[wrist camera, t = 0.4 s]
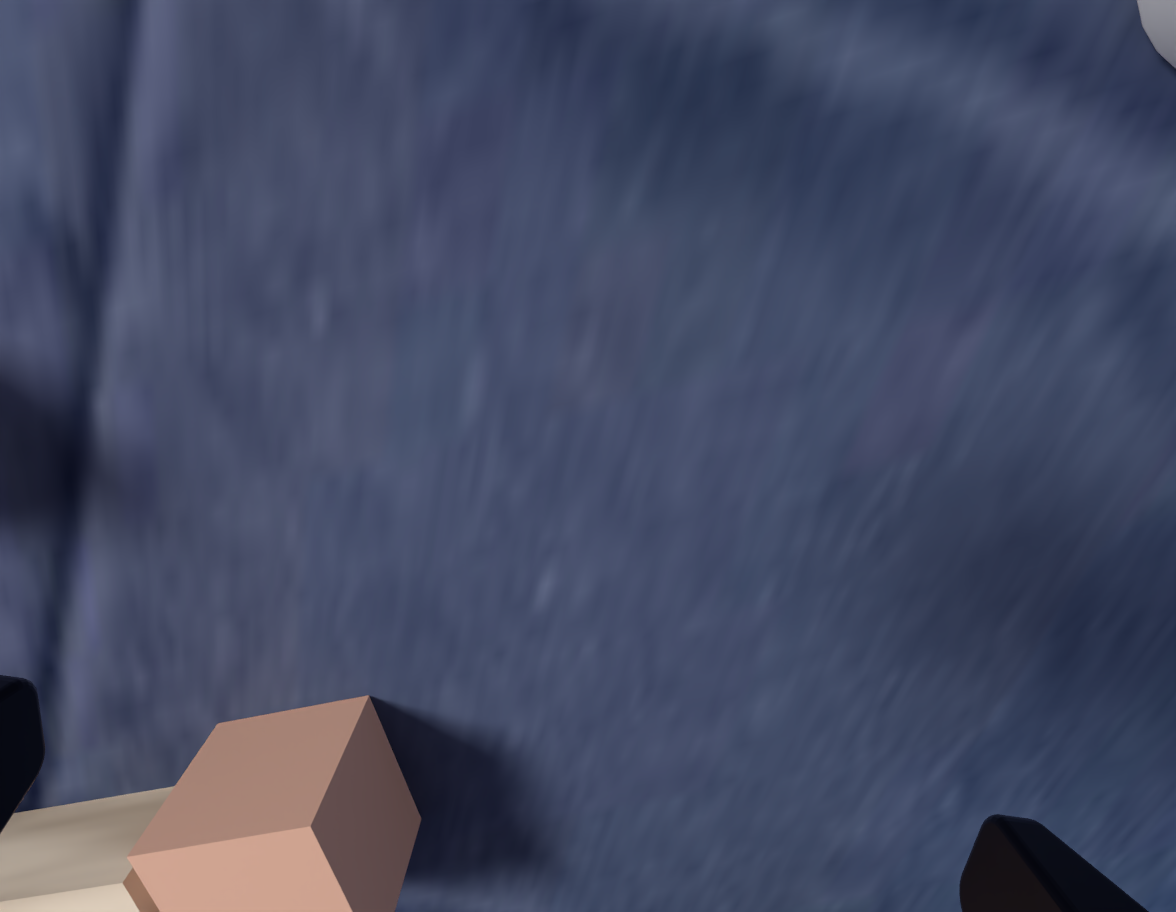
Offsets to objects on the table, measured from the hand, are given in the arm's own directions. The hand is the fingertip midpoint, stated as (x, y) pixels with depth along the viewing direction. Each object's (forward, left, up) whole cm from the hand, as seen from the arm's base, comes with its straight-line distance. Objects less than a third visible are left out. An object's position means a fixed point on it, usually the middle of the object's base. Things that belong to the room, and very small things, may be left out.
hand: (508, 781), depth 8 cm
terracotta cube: (-11, +11, -14) cm, 21 cm away
